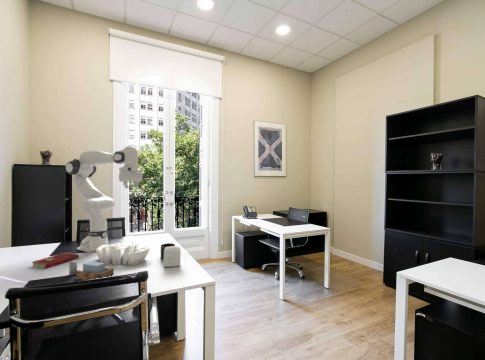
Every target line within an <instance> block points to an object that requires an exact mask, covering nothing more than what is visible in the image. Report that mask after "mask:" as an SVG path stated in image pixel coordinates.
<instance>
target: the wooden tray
mask: <svg viewBox="0 0 485 360" xmlns="http://www.w3.org/2000/svg"><path fill="white" fill-rule="evenodd" d="M114 270H115V269H114V267H108V266H105V271H104V272H102V273H93V272H87V271H83V270H80V269H77V271H76V274H75V279H76V278H80V279H82V280H81V281H85V280H89V279H96V278H103V277H109V276H112V275H113V276H114Z"/></svg>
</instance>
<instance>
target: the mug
mask: <svg viewBox="0 0 485 360" xmlns="http://www.w3.org/2000/svg"><path fill="white" fill-rule="evenodd" d="M170 246H176V244H175V243H170V242H169V243H163V244H160V260H163V261H164V249H165V248H166V247H170Z"/></svg>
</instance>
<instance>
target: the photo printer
mask: <svg viewBox="0 0 485 360" xmlns="http://www.w3.org/2000/svg"><path fill="white" fill-rule="evenodd" d="M180 266H181V248H180V247H179V246H176V245H175V246H170V247H166V248H165V249H164V260H163V267H164V268H167V267H169V268H170V267H171V268H172V267H180Z"/></svg>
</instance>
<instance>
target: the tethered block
mask: <svg viewBox="0 0 485 360" xmlns="http://www.w3.org/2000/svg"><path fill="white" fill-rule="evenodd" d="M68 262H69V268H68V269H69V271H68V272H69V273H68V274H69V276H74V274H75V275H76V271H77V270H78V260H72V261H68ZM105 267H106V265H105V263H101V262H100V261H93V260H91V261H88V262H85V263H82V271H87V272H93V273H102V272H104V271H105Z"/></svg>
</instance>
